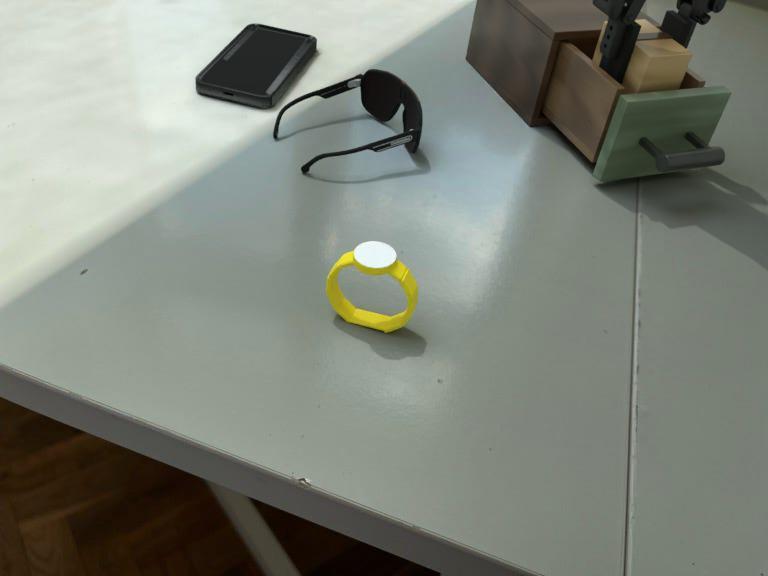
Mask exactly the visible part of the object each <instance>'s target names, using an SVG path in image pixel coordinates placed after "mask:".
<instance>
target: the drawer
mask: <svg viewBox="0 0 768 576" xmlns="http://www.w3.org/2000/svg"><path fill="white" fill-rule="evenodd" d="M598 40H599V38H583V39H567V40H560V42H559V46H558V49H557V53H556V56H555V60H554V64H553V67H552V71H551V74H550V78H549V82H548V85H547V89H546V93H545V96H544V100H543V103H542V107H541V112H542V113H543V114H544V115H545V116H546V117H547V118H548V119H549V120H550V121H551V122H552V123H553V124H552V125H554V126H555V127H556V128H557V129H558V130H559V131H560V132H561V133H562V134H563V135H564V136H565V137H566V138H567V139H568V140H569V141H570V142H571V143H572V144H573V145H574V146H575V147H576V148H577V149H578V150H579V151H580V153H582V154H583V155H584V156H585V157H586V158H587V159H588V160H589V161H590V162H591V163H592V164H593V163H596V164H595V166H594V170H593V172H592V175H593V177H594V178H595V179H596V180H597V181H598V182H599V183H603V182H610V181H616V180H624V179H631V178H638V177H639V178H640V177H645V176H646V177H647V176H653V175H654V176H655V175H660V174H668V173H675V172H683V171H691V170H697V169H700V168H701V169H702V168H708V167H709V168H710V167H715V166H721V165H722V164H723V163H724V162H725V160H726V152H725V150H724V148H723V147H721V146H719V145H717V146H710V142H711V140H712V138H713V136H714V134H715V131H716V129H717V126H718V124H719V123H720V120H721V118H722V116H723V113H724V111H725V109H726V107H727V105H728V102H729V100H730V98H731V95H732V93H733V91H731V90H730V89H729V88H728V87H726V86H725V85H715V86H705V85H706V82H707V80H706V79H704V78H703V77H701V76H700V75H699V74H698V73H696V72H695V71H694V70H692V68H691V69H690V68H689V67H688V68H687V70H686V73H685V75H684V78H683V80H682V83H681V85H680V88H679V90H669V91H658V92H648V93H637V94H626V95H623V92H624V89H625V88H624V87H623V86H622V85H620V84H619V83H618V82H617V81H616V80H615V79H613V78H612V77H611V76H610V75H609V74H607V73H606V72H605V71H604V70H603V69H602V68H600V67H599V66H598V65H597V64H596V63H594V62H593V61H592V60H593V56H594V53H595V50H596V47H597V43H598Z"/></svg>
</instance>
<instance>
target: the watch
mask: <svg viewBox="0 0 768 576" xmlns="http://www.w3.org/2000/svg"><path fill="white" fill-rule="evenodd" d="M397 258H398V254H397V252H396V250H395V249H394V248H393V246H391V245H389V244H388V243H385V242H382V241H377V240H371V241H370V240H369V241H364V242H361V243H360V244H358V245H357V246H356V247H355V248H354V249H353V250H351V251H348V252H345V253H343V254H342V256H341V257H340V258H339V259H338V260H337V261H336V262H335V264H333V267H332V268H331V269H330V271H329V273H328V274H327V277H326V285H325V293H326V296H327V299H328V301H329V303H330V305H331V307H332V309H333V310H334V311H335V312H336V314H338V315H339V316H340V317H341V318H342V319H343V320H345V322H346V323H349V324H354V325H357V326H361V327H365V328H369V329H374V330H377V331H382V332H384V333H385V334H387V333H391V332H393V331H396V330H398V329H401V328H404V326H406V324H407V323H408V321H409V320H410V319H411V318H412V316H413V314H414V312H415V310H416V308H417V305H418V302H419V286H418V282H417V281H416V279H415V277H414V276H413V273H412V272H411V270H410V269H409V268H408V267H407V266H406V265H405V264H404V263H402V262H401V261H400V260H399V259H397ZM352 266H353V267H354V268H355V269H356V270H357V271H359V272H361V273H363V274H365V275H368V276H377V277H378V276H383V275H384V276H385V275H389V276H390V277H392V278H393V279H395V281H397V282H398V283H399V286H400V287H401V288H402V290H403V292H404V293H405V296H406V297H407V300H406V301H407V302H406V303H407V307H406V309H405V310H404V311H403V312H400V313H397V314H395V315H392V316H390V315H386V314H382V313H377V312H373V311H369V310H366V309H365V310H364V309H361V308H357V307H356V306H355V305H353V303H352V302H350V301H349V300H348V299H347V298H346V297H345V296H344V294H343V291H342V289H341V287H340V285H339V283H338V281H339V273H340V271H342V269H345V268H348V267H352Z"/></svg>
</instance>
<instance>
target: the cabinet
mask: <svg viewBox="0 0 768 576" xmlns="http://www.w3.org/2000/svg"><path fill="white" fill-rule="evenodd" d="M625 5H627V3H626V4H625ZM641 19H645V20H647V21H648V22H650V23H651V24H652V25H654V26H655V27H657V28H658V29H659V30H660V27H661V25H662V24H660V22H658V21H656V20H655V19H654V18H652V17H650V15H648V14H646V13H645V12H644V11H642V10H641V11H640V12H639V14H638V16H637V18H636V20H641ZM605 21H608V16H607V15H606V14H605V13H603V12H602V11H601V10H599V9H598V8H597V7H595V6H594V5H593V0H476V1H475V8H474V12H473V17H472V23H471V27H470V33H469V37H468V43H467V49H466V54H465V60H466V61H467V62H468V63H469V64H470V65H471V66H472V67H473V68H474V70H476V72H477V73H479V75H480V76H481V77H482V78H483V79H484V80H485V81H486V82H487V83H488V84H489V85H490V87H492V88H493V90H494V91H495V92H496V93H497V94H498V95H499V96H500V97H501V98H502V99H503V100H504V101H505V102H506V103H507V104H508V105H509V106H510V107H511V109H512V110H514V111H515V112H516V113H517V115H518V116H520V118H521V119H522V120H523V121H524V122H525V123H526V124H527V125H528V126H529V127H534V126H535V127H536V126H545V125H554V124H553V123H552V122H551V121H550V120H549V119H548V118H547V117H546V116H545V115H544V114H543V113H542V112H541V107H542V103H543V100H544V96H545V93H546V89H547V85H548V82H549V78H550V74H551V71H552V67H553V64H554V60H555V56H556V53H557V49H558V46H559V42H560V40H567V39H583V38H599V37H600V34H601V31H602V27H603V24H604V22H605Z"/></svg>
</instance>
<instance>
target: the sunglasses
mask: <svg viewBox="0 0 768 576" xmlns="http://www.w3.org/2000/svg"><path fill="white" fill-rule="evenodd" d="M357 88H360V101H361V105H362V107H363V108H364V109H365V111H366V112H367V113H368V114H369V115H370V116H372V117H373V118H374V119H376V121H379V122H382V123H388V122H390V121H391V120H392V119H393V118H394V117H395V116H396V114H397V113H398V111H399V110H400V107H401V105H402V106H403V110H402V114H401V115H402V116H401V117H402V128H403V129H402V131H403V132H401V133H398V134H395V135H391V136H388V137H386V138H383V139H379V140H376V141H373V142H370V143H367V144H364V145H361V146H358V147H354V148H351V149H350V148H349V149H346V150H340V151H332V152H325V153H321V154H317V155H316V156H314V157H313V158H311V159H310V160H309V161H307V162H306V163H304V164H302V166H301V167H300V171H301V172H302V173H303V174H306V173H309V172H310V169H311V167H312V166H313V165H314V164H315V163H317V162H318V161H321V160H324V159H327V158H334V157H341V156H347V155H352V154H357V153H360V152H363V151H367V150H368V151H373V152H375V153H381V152H384V151H387V150H390V149H393V148H396V147H399V146H403V145H404V147H405V148H406V149H407V151H408V152H409V153H410V154H412V155H416V154H417V151H418V149H419V146H420V142H421V138H422V133H423V132H422V131H423V124H424V123H423V122H424V121H423V120H424V116H423V115H424V114H423V108H422V104H421V100H420V99H419V97H418V95H417V93H416V92H415V91H414V90H413V88H412V87H410V85H409V84H408V83H407V82H406V81H405V80H403V79H402V78H401V77H399V76H398V75H396V74H394V73H392V72H390V71H388V70H383V69H378V68H370V69H367V70H366V71H365V72H364V74H363V73H359V74H357V75H355V76H352V77H350V78H347V79H344V80H342V81H339V82H337V83H336V82H335V83H334V84H331V85H328V86H326V87H325V86H324V87H322V88H320V89H317V90H314V91H311V92H308V93H305V94H303V95H301V96H299V97H296V98H295V99H293V100H291V101H289V102H288V103H287V104H285V105H284V106H283V107H282V108H281V109H280V111H279V112H278V114H277V116H276V119H275V123H274V127H273V131H272V132H273V133H272V137H273V139H274V140H277V139H278V137H279V130H280V124H281V120H282V118H283V115H284V114H285V112H286V111H288V110H289V109H290V108H292V107H293V106H295V105H297V104H298V103H301V102H303V101H305V100H307V99H310V98H313V97H320V98H322V99H325V100H327V99H331V98H333V97H336V96H338V95H340V94H344V93H346V92H349V91H352V90H354V89H357Z"/></svg>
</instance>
